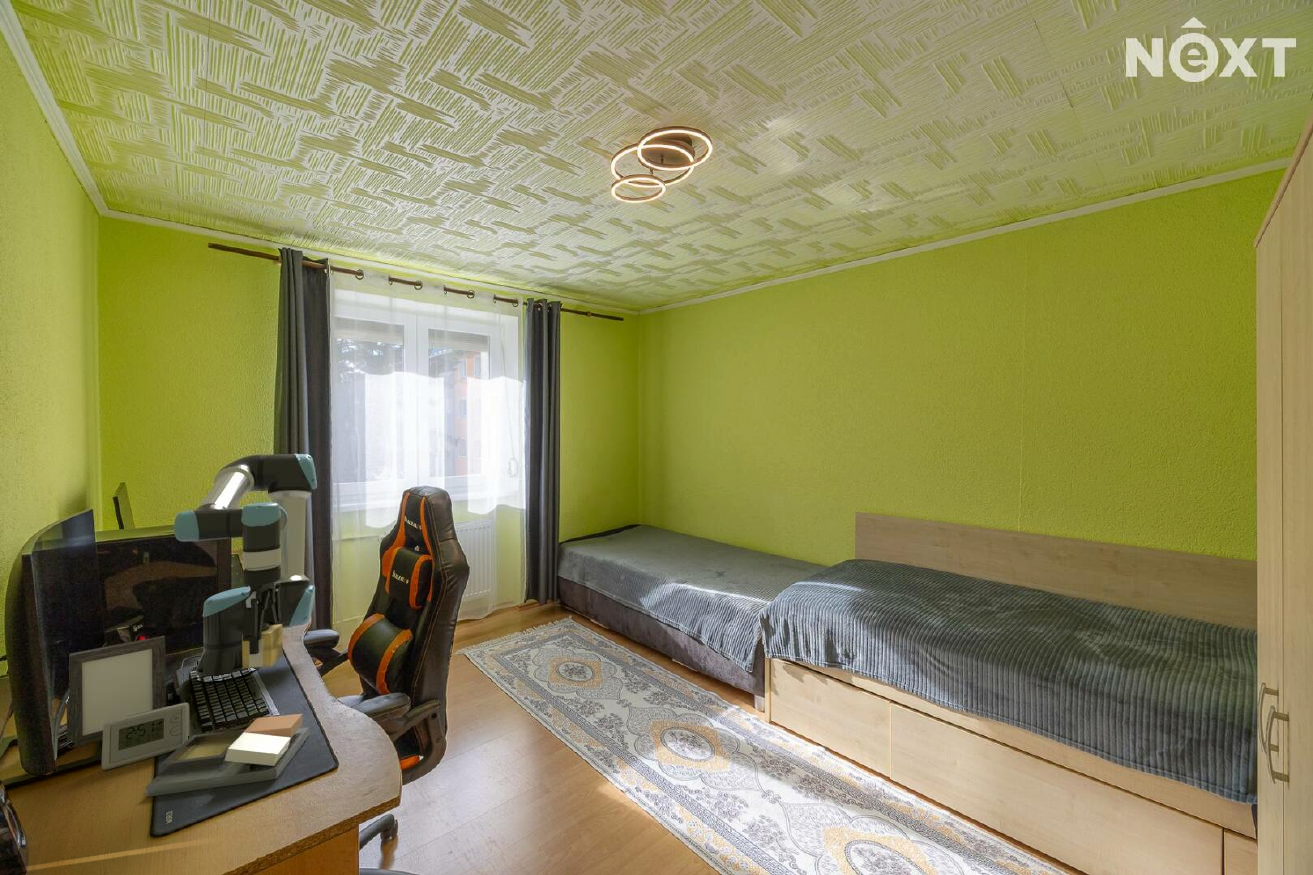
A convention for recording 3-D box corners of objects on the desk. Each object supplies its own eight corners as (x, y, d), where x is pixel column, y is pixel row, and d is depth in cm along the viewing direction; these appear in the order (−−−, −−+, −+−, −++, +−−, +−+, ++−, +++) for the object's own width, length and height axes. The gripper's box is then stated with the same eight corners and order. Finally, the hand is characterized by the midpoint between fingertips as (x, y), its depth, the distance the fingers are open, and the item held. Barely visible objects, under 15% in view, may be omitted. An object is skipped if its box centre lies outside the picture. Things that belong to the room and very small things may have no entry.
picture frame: (66, 751, 117) (66, 656, 117) (68, 747, 118) (67, 653, 118) (165, 724, 128) (165, 637, 128) (165, 720, 129) (164, 634, 129)
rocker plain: (240, 743, 111) (244, 732, 111) (287, 748, 113) (290, 737, 113) (224, 760, 105) (228, 748, 106) (274, 765, 107) (277, 753, 108)
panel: (194, 749, 117) (194, 733, 117) (309, 735, 122) (308, 720, 122) (143, 797, 102) (142, 778, 102) (276, 778, 107) (276, 761, 107)
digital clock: (96, 774, 109) (96, 730, 109) (112, 754, 116) (112, 713, 116) (184, 754, 116) (184, 712, 116) (194, 737, 122) (194, 697, 122)
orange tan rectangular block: (257, 728, 119) (257, 717, 119) (302, 724, 121) (302, 713, 121) (243, 743, 113) (243, 732, 113) (290, 738, 115) (290, 727, 115)
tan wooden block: (255, 658, 132) (254, 621, 132) (282, 655, 134) (282, 619, 134) (242, 668, 126) (242, 630, 126) (271, 665, 128) (270, 628, 128)
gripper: (263, 558, 138) (264, 646, 138) (222, 578, 120) (223, 679, 120) (296, 556, 140) (297, 643, 140) (260, 575, 121) (261, 675, 122)
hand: (263, 659), depth 130 cm, fingers closed on tan wooden block, 6 cm apart
